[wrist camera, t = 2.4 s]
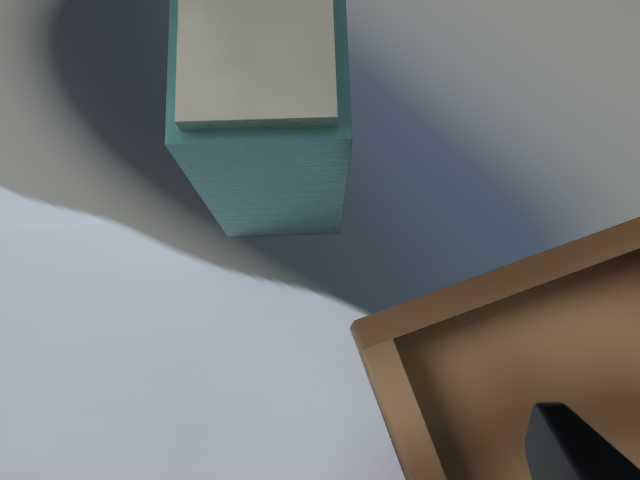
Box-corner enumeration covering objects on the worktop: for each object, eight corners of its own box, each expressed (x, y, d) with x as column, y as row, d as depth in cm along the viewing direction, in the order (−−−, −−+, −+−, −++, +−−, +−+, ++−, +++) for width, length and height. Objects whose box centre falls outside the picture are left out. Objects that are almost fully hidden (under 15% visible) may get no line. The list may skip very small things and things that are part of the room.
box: (821, 550, 20) (906, 580, 17) (484, 693, 19) (513, 750, 16) (651, 217, 23) (698, 195, 20) (349, 327, 22) (353, 320, 19)
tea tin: (340, 233, 23) (353, 130, 13) (228, 237, 23) (159, 135, 13) (335, 130, 24) (345, -37, 14) (229, 133, 24) (165, -32, 14)
